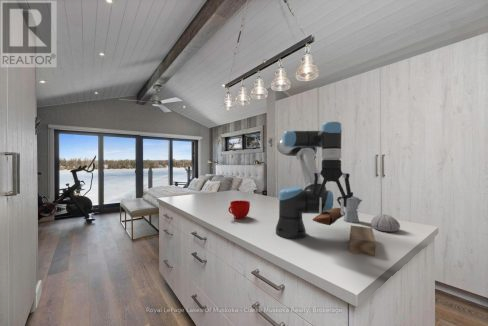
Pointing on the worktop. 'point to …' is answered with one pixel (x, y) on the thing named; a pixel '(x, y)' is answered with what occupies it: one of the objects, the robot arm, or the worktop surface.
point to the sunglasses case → (329, 216)
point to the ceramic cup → (239, 209)
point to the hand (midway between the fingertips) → (331, 213)
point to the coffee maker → (351, 209)
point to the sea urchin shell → (385, 223)
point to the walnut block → (362, 240)
